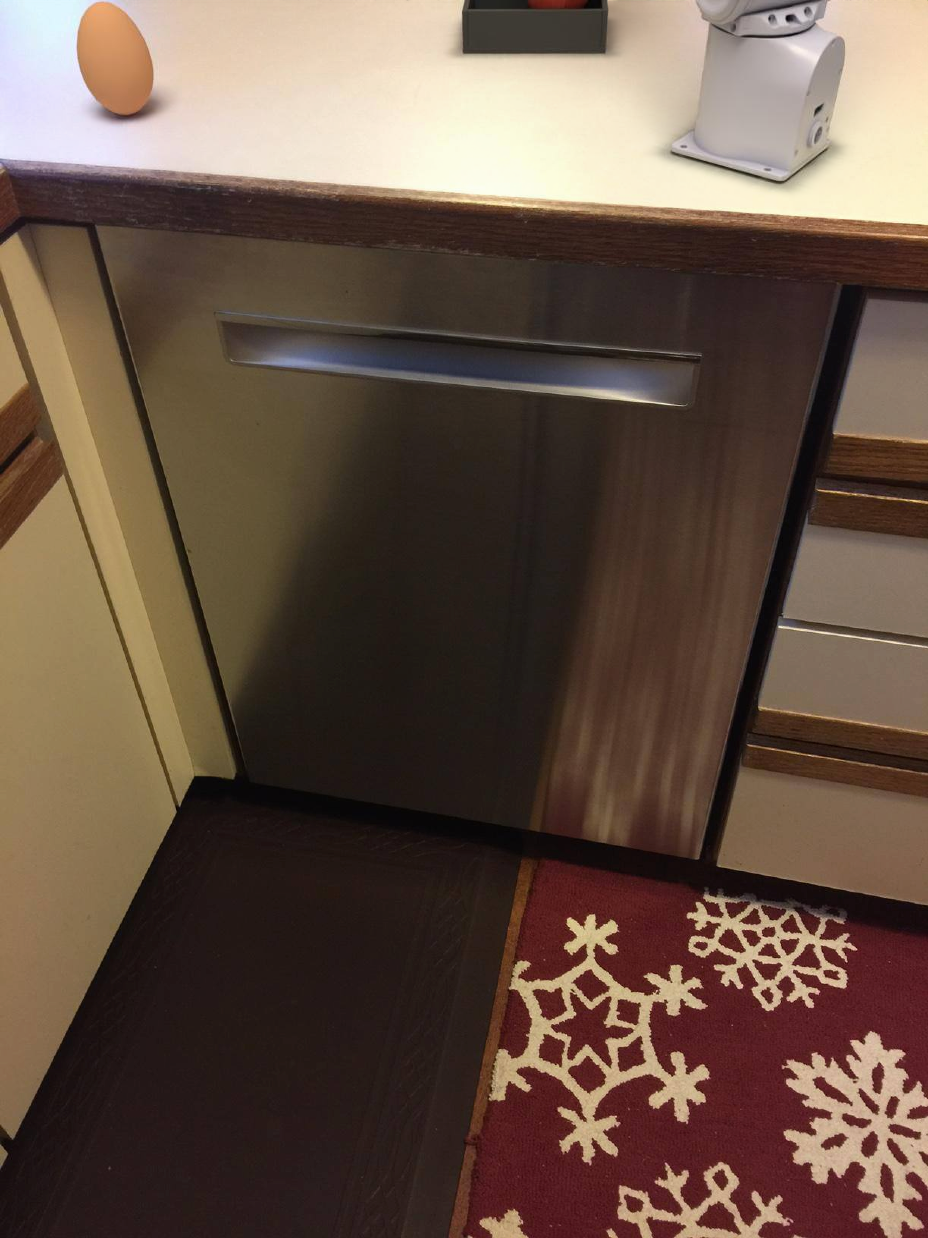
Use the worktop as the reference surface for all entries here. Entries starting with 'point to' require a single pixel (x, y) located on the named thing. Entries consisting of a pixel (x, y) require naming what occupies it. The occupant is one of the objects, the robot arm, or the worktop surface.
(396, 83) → the worktop surface
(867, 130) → the worktop surface
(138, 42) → the egg
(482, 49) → the bin
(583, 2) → the onion
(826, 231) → the worktop surface
